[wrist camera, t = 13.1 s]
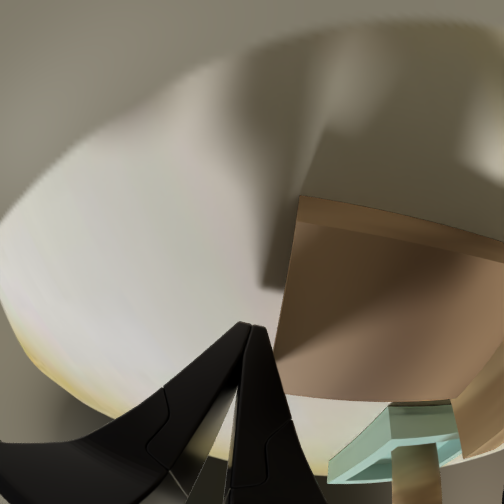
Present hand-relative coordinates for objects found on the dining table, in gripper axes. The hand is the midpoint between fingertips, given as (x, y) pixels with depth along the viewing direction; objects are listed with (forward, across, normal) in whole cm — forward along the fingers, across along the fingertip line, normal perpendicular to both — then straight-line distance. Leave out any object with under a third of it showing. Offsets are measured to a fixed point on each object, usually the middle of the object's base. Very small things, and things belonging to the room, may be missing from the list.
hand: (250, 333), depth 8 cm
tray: (+1, -12, +10) cm, 15 cm away
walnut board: (+2, -5, -1) cm, 5 cm away
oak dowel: (+1, -12, +9) cm, 15 cm away
